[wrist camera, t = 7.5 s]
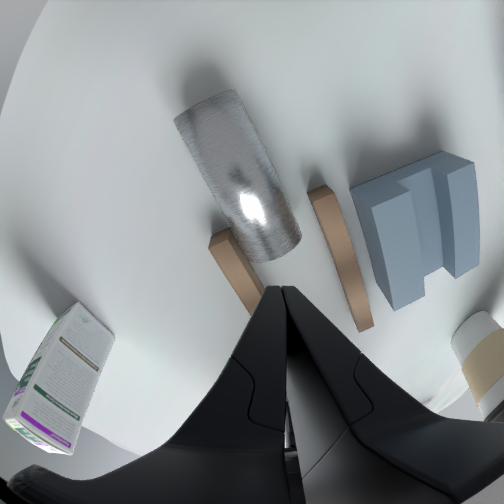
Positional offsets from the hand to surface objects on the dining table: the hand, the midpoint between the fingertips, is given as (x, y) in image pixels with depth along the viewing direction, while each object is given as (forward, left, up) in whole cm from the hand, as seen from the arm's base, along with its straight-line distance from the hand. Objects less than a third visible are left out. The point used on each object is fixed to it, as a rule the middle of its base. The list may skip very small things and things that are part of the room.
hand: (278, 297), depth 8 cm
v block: (-7, -10, -12) cm, 17 cm away
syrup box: (-4, +23, -12) cm, 26 cm away
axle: (+2, +1, -10) cm, 10 cm away
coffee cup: (-27, -18, -12) cm, 35 cm away
